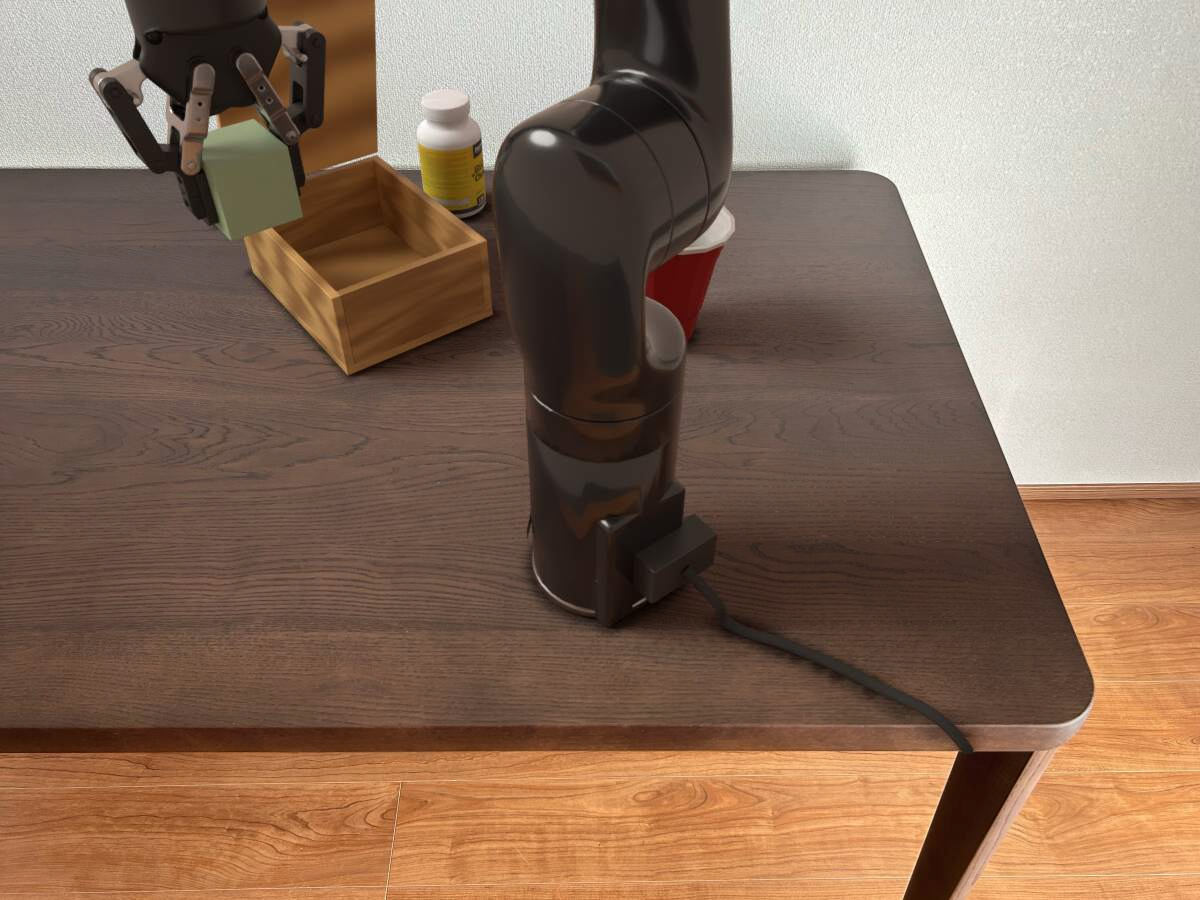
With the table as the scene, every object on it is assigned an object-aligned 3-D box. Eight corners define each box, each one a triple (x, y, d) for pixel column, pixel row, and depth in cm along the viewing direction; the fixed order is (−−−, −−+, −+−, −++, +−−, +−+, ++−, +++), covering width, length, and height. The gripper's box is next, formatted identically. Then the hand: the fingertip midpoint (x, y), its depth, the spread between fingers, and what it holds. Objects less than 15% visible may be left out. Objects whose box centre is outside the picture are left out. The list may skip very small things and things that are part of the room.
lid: (374, -56, 77) (369, -61, 77) (195, -20, 70) (190, -26, 71) (378, 152, 94) (374, 147, 94) (233, 197, 87) (229, 192, 87)
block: (303, 217, 64) (287, 146, 61) (231, 241, 62) (210, 169, 58) (270, 187, 67) (253, 118, 63) (200, 210, 65) (178, 139, 61)
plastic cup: (746, 346, 86) (764, 226, 77) (641, 383, 82) (648, 261, 73) (679, 285, 92) (689, 168, 84) (579, 317, 88) (579, 198, 80)
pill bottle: (476, 224, 100) (467, 116, 92) (416, 217, 101) (402, 109, 93) (494, 194, 104) (486, 88, 96) (436, 187, 105) (424, 82, 97)
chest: (493, 314, 88) (487, 240, 83) (348, 375, 82) (331, 298, 76) (387, 225, 100) (376, 154, 94) (252, 272, 93) (232, 199, 88)
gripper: (61, -32, 47) (165, 268, 59) (330, -83, 53) (375, 196, 65) (16, -70, 51) (121, 217, 63) (271, -113, 58) (323, 154, 69)
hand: (250, 205), depth 64 cm, fingers closed on block, 5 cm apart
